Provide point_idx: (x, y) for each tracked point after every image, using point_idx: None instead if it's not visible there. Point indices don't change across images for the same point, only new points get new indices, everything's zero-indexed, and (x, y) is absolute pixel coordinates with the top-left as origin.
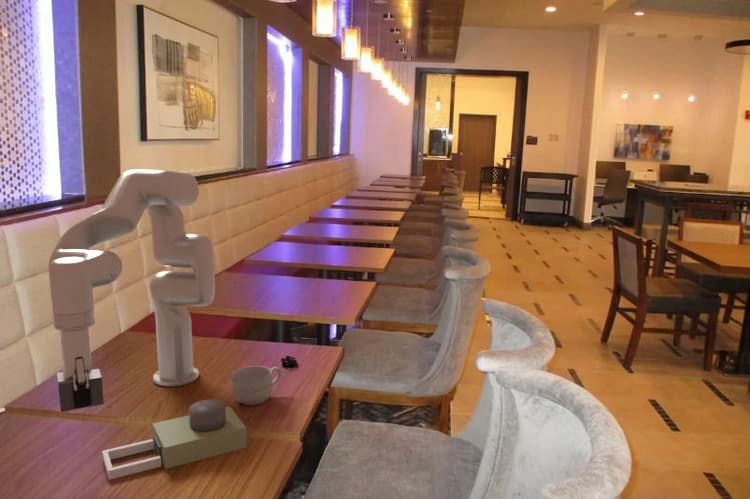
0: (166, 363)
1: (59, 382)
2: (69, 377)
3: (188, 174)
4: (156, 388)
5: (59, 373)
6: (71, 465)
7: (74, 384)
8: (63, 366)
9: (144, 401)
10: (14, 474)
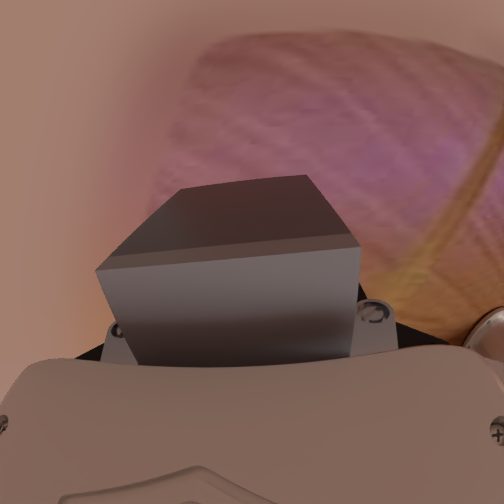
0: (497, 351)
1: (103, 277)
2: (181, 351)
3: None
4: (481, 311)
5: (328, 274)
6: (271, 158)
7: (104, 351)
8: (86, 434)
9: (458, 296)
10: (277, 45)
